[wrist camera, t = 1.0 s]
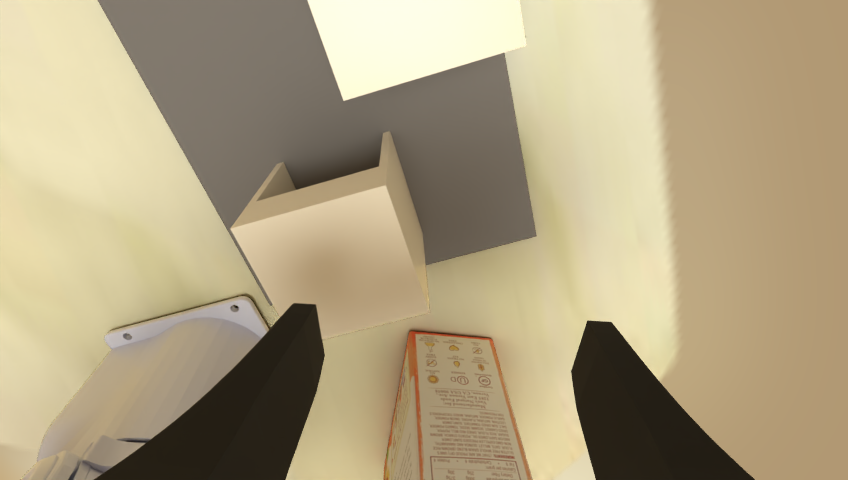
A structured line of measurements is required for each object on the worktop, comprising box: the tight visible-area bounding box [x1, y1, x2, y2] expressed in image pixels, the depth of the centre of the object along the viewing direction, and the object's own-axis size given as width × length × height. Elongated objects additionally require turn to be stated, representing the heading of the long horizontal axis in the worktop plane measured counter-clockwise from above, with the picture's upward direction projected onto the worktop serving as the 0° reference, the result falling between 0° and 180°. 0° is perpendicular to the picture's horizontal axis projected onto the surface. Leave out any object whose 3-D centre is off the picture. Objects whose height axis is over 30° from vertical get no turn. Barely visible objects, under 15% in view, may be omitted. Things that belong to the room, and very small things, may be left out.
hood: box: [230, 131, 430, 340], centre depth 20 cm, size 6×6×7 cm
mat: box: [98, 0, 536, 306], centre depth 21 cm, size 16×20×1 cm
